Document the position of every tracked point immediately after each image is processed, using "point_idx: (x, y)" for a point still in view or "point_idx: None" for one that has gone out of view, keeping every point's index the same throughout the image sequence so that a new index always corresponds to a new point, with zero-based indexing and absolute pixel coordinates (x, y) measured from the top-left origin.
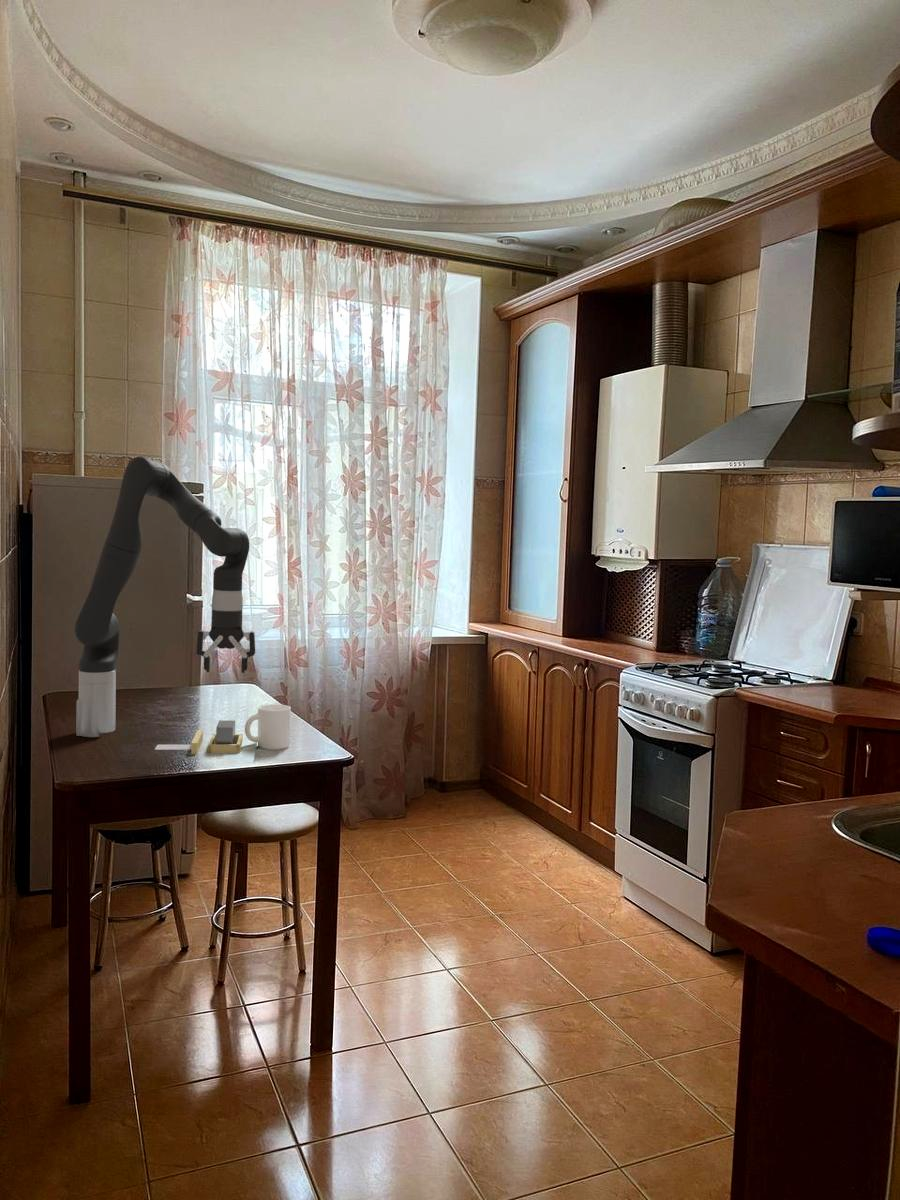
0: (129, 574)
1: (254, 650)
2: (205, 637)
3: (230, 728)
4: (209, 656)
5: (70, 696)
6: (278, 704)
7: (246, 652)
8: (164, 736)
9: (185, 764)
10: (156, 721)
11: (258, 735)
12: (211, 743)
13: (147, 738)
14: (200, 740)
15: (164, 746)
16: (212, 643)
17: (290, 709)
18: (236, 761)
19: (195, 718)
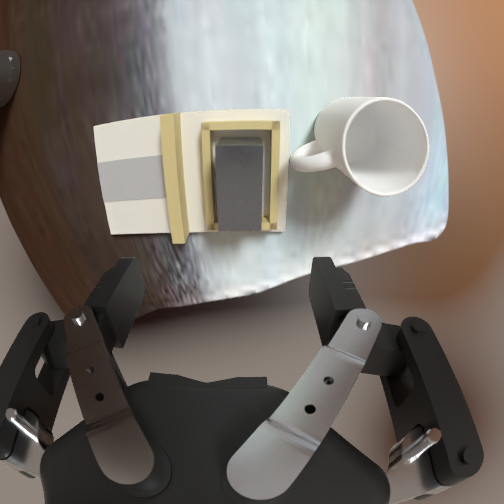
0: None
1: (410, 385)
2: (48, 442)
3: (255, 230)
4: (105, 323)
5: None
6: (403, 103)
7: (366, 366)
8: (94, 55)
9: (180, 266)
10: None
11: (321, 146)
12: (212, 216)
13: (68, 80)
14: (180, 173)
15: (113, 177)
16: (74, 378)
17: (425, 159)
18: (269, 249)
19: None
